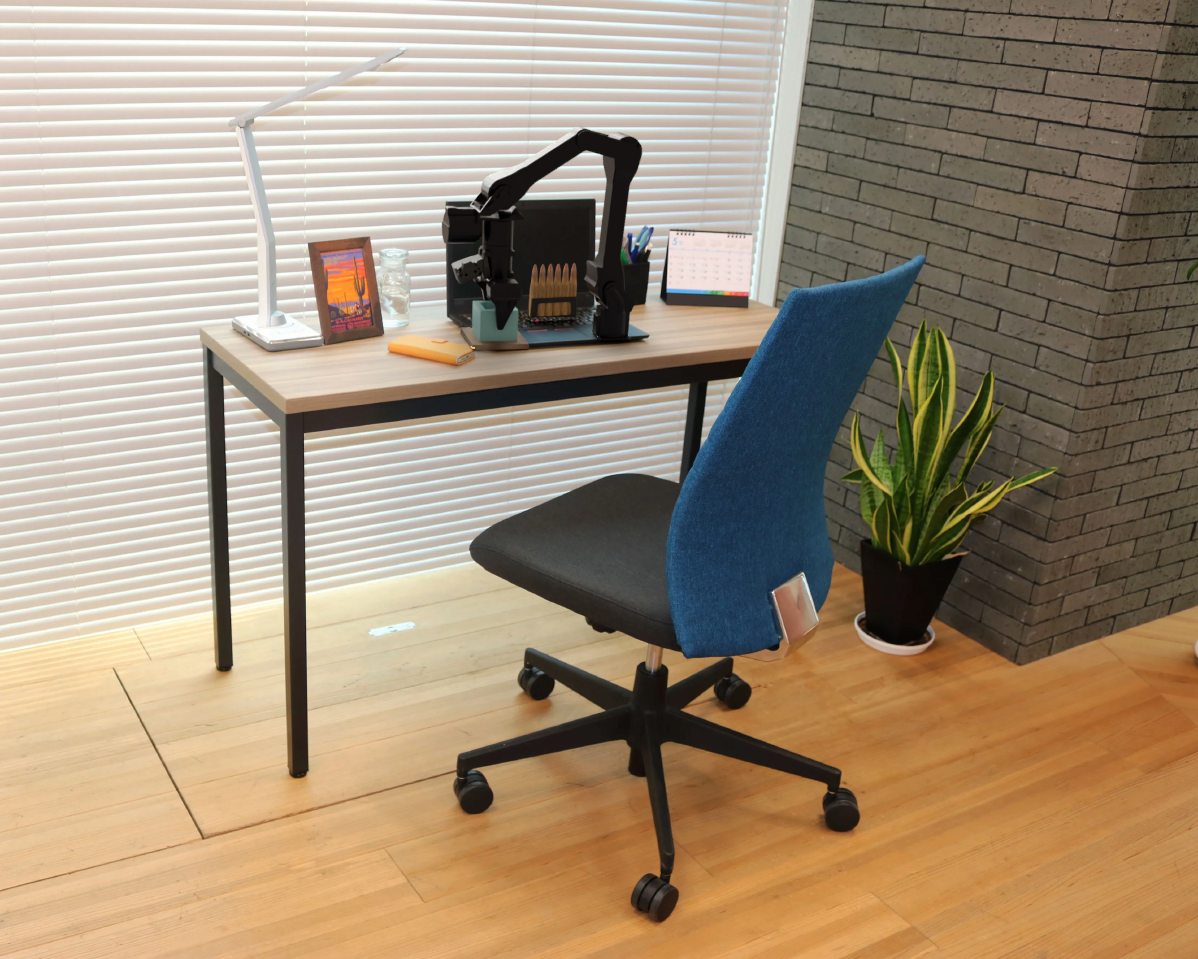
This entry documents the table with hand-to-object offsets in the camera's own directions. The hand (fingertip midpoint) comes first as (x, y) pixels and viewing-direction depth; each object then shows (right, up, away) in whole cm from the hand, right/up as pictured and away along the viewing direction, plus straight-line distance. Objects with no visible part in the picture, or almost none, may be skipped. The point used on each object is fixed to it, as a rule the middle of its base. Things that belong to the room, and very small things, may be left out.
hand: (494, 323), depth 224 cm
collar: (0, -2, +1) cm, 2 cm away
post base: (0, -3, +1) cm, 4 cm away
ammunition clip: (+10, +3, +18) cm, 21 cm away
